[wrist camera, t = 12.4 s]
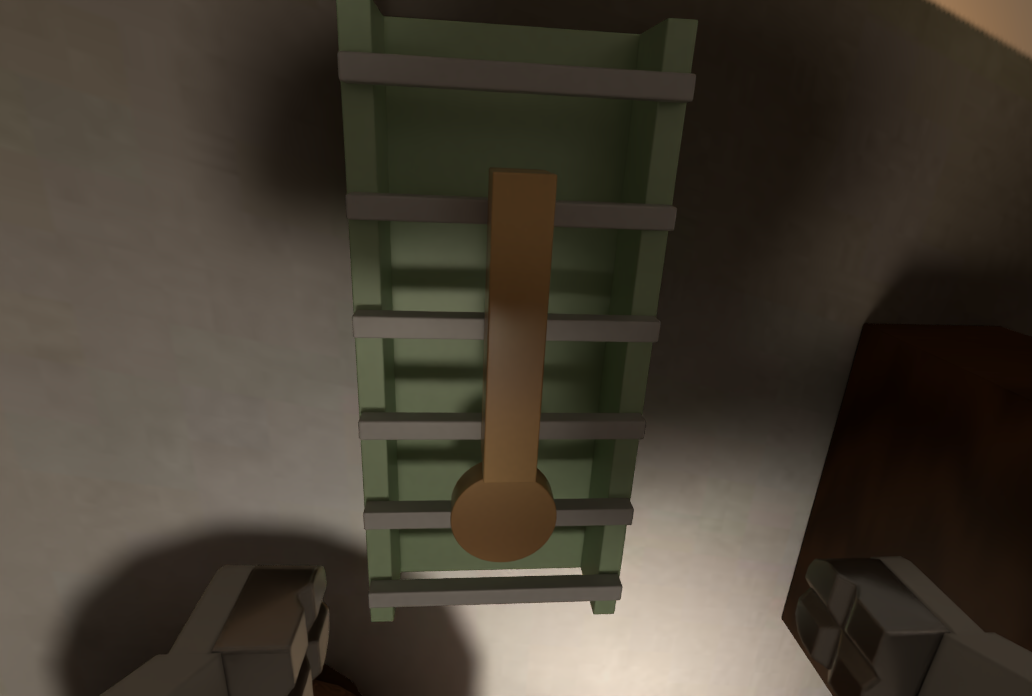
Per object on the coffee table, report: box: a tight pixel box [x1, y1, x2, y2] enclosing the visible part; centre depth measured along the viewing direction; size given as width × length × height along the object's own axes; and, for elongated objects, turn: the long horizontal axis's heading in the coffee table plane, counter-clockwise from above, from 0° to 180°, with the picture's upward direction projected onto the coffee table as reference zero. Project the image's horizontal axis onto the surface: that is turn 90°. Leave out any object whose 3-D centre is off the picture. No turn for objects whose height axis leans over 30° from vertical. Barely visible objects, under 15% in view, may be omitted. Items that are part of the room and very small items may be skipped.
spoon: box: [450, 167, 557, 562], centre depth 19 cm, size 14×4×2 cm, turn 177°
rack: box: [336, 0, 698, 622], centre depth 22 cm, size 24×11×5 cm, turn 177°
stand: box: [782, 323, 1032, 696], centre depth 23 cm, size 18×7×14 cm, turn 177°
